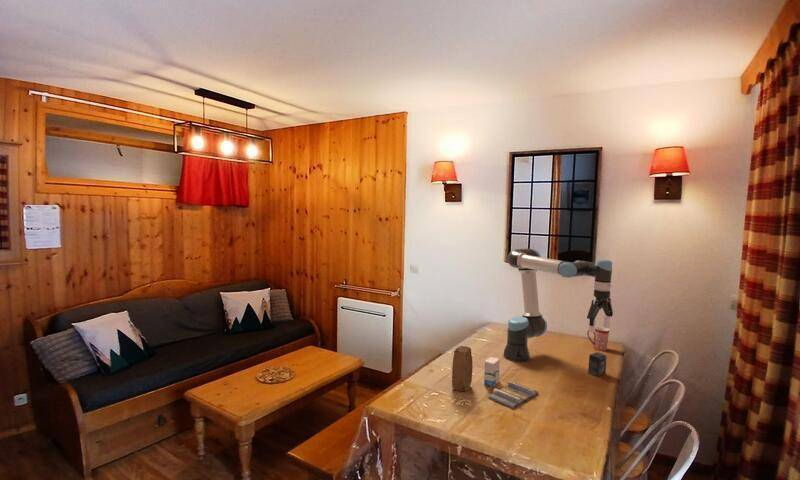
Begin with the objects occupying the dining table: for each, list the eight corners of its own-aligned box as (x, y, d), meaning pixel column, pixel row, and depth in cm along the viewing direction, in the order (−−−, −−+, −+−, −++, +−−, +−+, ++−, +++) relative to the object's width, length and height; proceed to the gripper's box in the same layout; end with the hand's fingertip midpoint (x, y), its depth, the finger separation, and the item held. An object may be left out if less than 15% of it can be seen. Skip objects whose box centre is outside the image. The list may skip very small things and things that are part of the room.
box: (597, 377, 206) (599, 357, 206) (587, 373, 211) (588, 354, 210) (605, 373, 211) (607, 354, 210) (595, 370, 216) (597, 351, 215)
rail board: (488, 397, 180) (488, 391, 179) (513, 384, 194) (514, 378, 194) (513, 408, 170) (513, 402, 170) (538, 393, 185) (538, 387, 185)
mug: (607, 347, 253) (609, 327, 252) (608, 352, 245) (610, 331, 244) (586, 344, 259) (587, 324, 258) (586, 348, 250) (587, 328, 249)
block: (464, 394, 183) (465, 352, 182) (449, 389, 187) (451, 348, 186) (473, 385, 192) (475, 346, 190) (460, 381, 196) (461, 343, 195)
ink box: (492, 387, 191) (493, 363, 190) (483, 384, 194) (484, 361, 193) (499, 381, 198) (500, 358, 197) (490, 378, 201) (490, 356, 200)
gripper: (595, 293, 191) (592, 335, 192) (622, 289, 204) (619, 328, 206) (581, 290, 197) (578, 331, 199) (608, 286, 211) (605, 324, 212)
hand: (599, 330), depth 202 cm, fingers open, 13 cm apart
